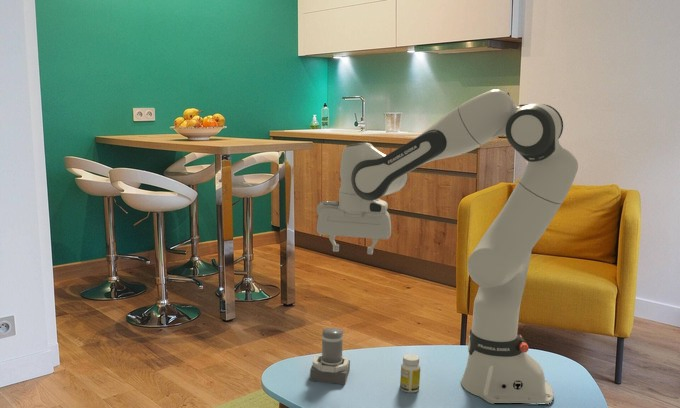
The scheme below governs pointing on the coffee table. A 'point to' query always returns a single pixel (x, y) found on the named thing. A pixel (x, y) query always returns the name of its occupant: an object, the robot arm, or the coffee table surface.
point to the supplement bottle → (410, 373)
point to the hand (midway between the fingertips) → (352, 252)
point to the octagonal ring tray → (329, 371)
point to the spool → (332, 346)
